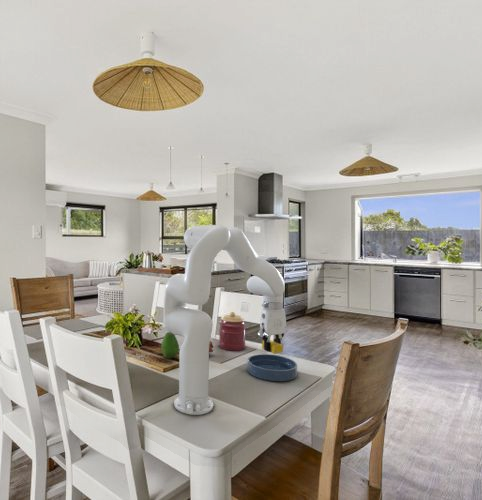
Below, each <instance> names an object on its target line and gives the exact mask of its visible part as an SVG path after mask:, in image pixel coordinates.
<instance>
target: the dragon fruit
mask: <svg viewBox="0 0 482 500" xmlns="http://www.w3.org/2000/svg"><path fill="white" fill-rule="evenodd" d="M213 352H214V345H213V341H211V340H210V343H209V353H213Z"/></svg>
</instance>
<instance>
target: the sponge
mask: <svg viewBox="0 0 482 500" xmlns="http://www.w3.org/2000/svg"><path fill="white" fill-rule="evenodd" d="M269 342H271V351H270V352H269V353H272V354H273V355H276V354H280V353H283V352H284V345H283V344H282V343H281V344H279V343H277V342H274V340H271V339H270V341H269ZM261 349H262V350H264V341H263V340H262V341H261Z"/></svg>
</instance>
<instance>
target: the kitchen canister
mask: <svg viewBox="0 0 482 500" xmlns="http://www.w3.org/2000/svg"><path fill="white" fill-rule="evenodd" d="M244 321H245V318H243V317H242V316H241V315H237V314H236V313H235V312H234V311H230V313H229V314H225V315H223V316H222V317H221V318H220V321H219V322H218V324H219V328H218V331H219V336H218V337H219V340H218V346H219V348H221V349H223V350H227V351H243V350H244V349H245V348H246V332H247V331H246V328H245V327H246V324H247V323H245V322H244Z"/></svg>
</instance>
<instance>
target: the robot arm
mask: <svg viewBox="0 0 482 500" xmlns="http://www.w3.org/2000/svg"><path fill="white" fill-rule="evenodd" d="M183 242H184V244H185V245H186V247H187V248H189V249H190V251H189V252H188V254H187V257H186V260H185V267H184V273H176V274H173V275H172V276H170V277H169V279H168V280H167V282H166V283H165V288H164V298H163V311H162V313H163V314H162V318H163V319H162V321H163V326H164V328H165V329H166V330H167V331H168V332H171V333H173V334H174V335H176V336H177V335H178V336H181V337H183V338H184V340H183V341H182V343H181V346H180V347H179V351H178V353H179V355H178V357H179V358H178V359H179V362H178V364H179V365H178V374H179V375H178V396H177V397H176V398H175V399H174V402H173V406H174V408H175V409H176V410H177V411H178V412H179V413H182V414H185V415H191V416H199V415H200V416H201V415H204V414H208V413H210V412H211V411H213V409H214V402H213V400H212V399H210V398H209V383H210V382H209V381H210V380H209V379H210V377H209V376H210V375H209V374H210V373H209V372H210V370H209V369H210V366H209V365H210V352H209V343H210V341H211V337H212V332H213V326H214V324H213V320H212V318H211V316H210V315H209V314H208V313H207V312H205V311H203V310H201V309H197V308H193V307H187V305H192V306H204V305H206V304H207V303H208V301H209V299H210V295H211V286H212V285H211V282H212V270H213V264H214V261H215V258H216V257H217V256H218V254H219V253H220V252H222V251H225V252H226V253H227V254H228V255H229V257H230V258H231V260H232V261H233V263H234V265H235V266H236V267H237V269H239V270H240V271H242V272H244V273H246V274H249V275H252V276H250V277H249V278H248V279H247V281H246V288H247V290H248V292H249V293H251V294H253V295H258V296H263V301H262V302H263V303H261V307H262V308H261V314H260V321H259V322H260V324H259V330H258V332H257V335H258V336H259V337H260V338H261V339H262V341H264V349H263V350H264V351H265V352H267V353H271V352H270V351H271V342H269V341H270V340H271V337H272V336H274V339H273V341H274V342H277V343H279V344H282V341H283V337H284V336H285V334H286V333H287V331H288V330H287V317H286V316H287V315H286V311H285V308H284V292H285V288H286V287H285V285H286V284H285V281H284V277H283V276H282V275H281V273H280V272H279V270H278V269H277V268H276V267H275V265H273V264H272V263H270V262H269V261H267V260H266V259H264V257H261V256H260V255H258V254H257V252H256V251H255V249H254V246H252V243H251V242H250V241H249V239H248V237H247V236H246V234H245V233H244V231H243V229H241V228H239V227H236V226H226V225H220V224H205V225H202V224H201V225H191V226H189V227H188V228H187V229H185V231H184V234H183Z"/></svg>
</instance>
